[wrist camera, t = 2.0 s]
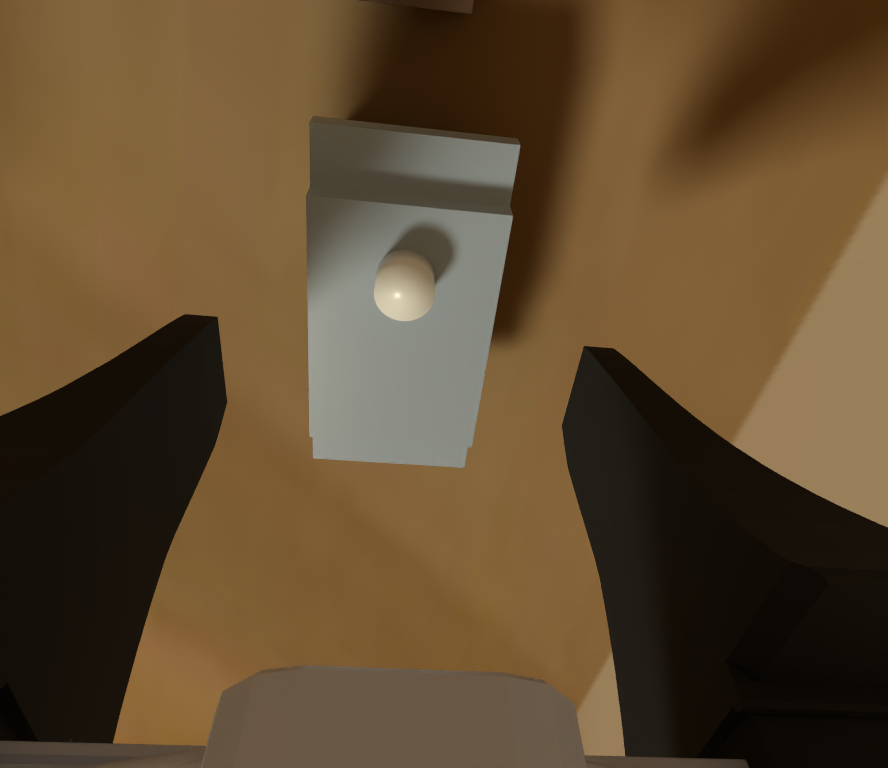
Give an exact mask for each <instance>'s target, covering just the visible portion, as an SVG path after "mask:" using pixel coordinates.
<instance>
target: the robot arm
mask: <svg viewBox="0 0 888 768" xmlns="http://www.w3.org/2000/svg"><path fill="white" fill-rule="evenodd" d="M226 404H227V397H226V388H225V379H224V371H223V362H222V353H221V344H220V335H219V326H218V317H213V316H200V315H188V314H185V315H183V316H181V317H179V318H177V319H175V320H174V321H172V322H170V323H169V324H167V325H166V326H164V327H162V328H161V329H159V330H158V331H156V332H155V333H153V334H151V335H150V336H148V337H147V338H145V339H144V340H142V341H141V342H139V343H137V344H136V345H134V346H133V347H131V348H129V349H128V350H126V351H125V352H123V353H121V354H120V355H118V356H117V357H115V358H113V359H112V360H110V361H108V362H107V363H105V364H103V365H101V366H100V367H98V368H96V369H94V370H93V371H91V372H89V373H87V374H85V375H84V376H82V377H80V378H78V379H77V380H75V381H73V382H71V383H69V384H68V385H66V386H64V387H62V388H60V389H58V390H56V391H54V392H52V393H50V394H48V395H46V396H44V397H42V398H40V399H38V400H36V401H33V402H31V403H29V404H27V405H25V406H22V407H20V408H18V409H16V410H13V411H11V412H9V413H6V414H4V415H2V416H0V768H888V528H887V527H885V526H883V525H880V524H878V523H876V522H874V521H871V520H869V519H867V518H865V517H862V516H860V515H858V514H856V513H853V512H851V511H849V510H847V509H845V508H842V507H840V506H838V505H836V504H834V503H832V502H830V501H828V500H826V499H824V498H822V497H820V496H818V495H816V494H814V493H812V492H810V491H809V490H807V489H805V488H803V487H801V486H800V485H798V484H796V483H794V482H792V481H790V480H788V479H787V478H785V477H783V476H781V475H779V474H778V473H776V472H774V471H773V470H771V469H769V468H768V467H766V466H764V465H762V464H761V463H760V462H758V461H756V460H755V459H753V458H752V457H750V456H749V455H747V454H746V453H744V452H742V451H741V450H739V449H738V448H736V447H735V446H733V445H732V444H730V443H729V442H728V441H726V440H725V439H723V438H722V437H721V436H719V435H718V434H717V433H715V432H714V431H713V430H711V429H710V428H709V427H707V426H706V425H705V424H703V423H702V422H701V421H699V420H698V419H697V418H695V417H694V416H693V415H692V414H691V413H689V412H688V411H687V410H686V409H684V408H683V407H682V406H681V405H680V404H678V403H677V402H676V401H675V400H674V399H672V398H671V397H670V396H669V395H668V394H667V393H665V392H664V391H663V390H662V389H661V388H660V387H658V386H657V385H656V384H655V383H654V382H653V381H652V380H651V379H649V378H648V377H647V376H646V375H645V374H644V373H643V372H641V371H640V370H639V369H638V368H637V367H636V366H635V365H633V364H632V363H631V362H630V361H629V360H628V359H626V358H625V357H624V356H623V355H622V354H620V353H619V352H618V351H616V350H615V349H613V348H601V347H588V346H584V348H583V351H582V355H581V359H580V362H579V366H578V369H577V373H576V377H575V380H574V384H573V388H572V391H571V395H570V398H569V402H568V406H567V409H566V413H565V416H564V420H563V424H562V429H563V437H564V445H565V452H566V458H567V464H568V469H569V473H570V476H571V480H572V483H573V487H574V490H575V494H576V497H577V500H578V504H579V507H580V510H581V514H582V517H583V520H584V524H585V527H586V530H587V534H588V537H589V540H590V544H591V547H592V550H593V554H594V557H595V561H596V565H597V569H598V573H599V577H600V582H601V588H602V593H603V599H604V604H605V610H606V615H607V621H608V627H609V634H610V640H611V647H612V653H613V660H614V666H615V672H616V680H617V688H618V696H619V704H620V712H621V719H622V727H623V737H624V747H625V756H586V755H584V750H583V745H582V740H581V736H580V730H579V725H578V719H577V714H576V709H575V704H574V702H572V701H571V700H570V699H568V698H567V697H566V696H564V695H563V694H562V693H560V692H559V691H558V690H556V689H555V688H553V687H552V686H551V685H549V684H548V683H546V682H545V681H543V680H540V679H535V678H530V677H525V676H519V675H514V674H509V673H503V672H475V671H447V670H419V669H391V668H363V667H335V666H308V665H303V666H294V667H285V668H276V669H267V670H261V671H259V672H257V673H256V674H254V675H252V676H250V677H248V678H246V679H244V680H243V681H241V682H239V683H237V684H235V685H233V686H232V687H230V688H228V689H226V690H225V691H223V692H222V695H221V698H220V701H219V704H218V707H217V710H216V712H215V715H214V719H213V723H212V727H211V730H210V734H209V738H208V742H207V745H206V746H189V745H149V744H113V740H114V736H115V732H116V727H117V723H118V719H119V715H120V711H121V707H122V704H123V700H124V696H125V693H126V689H127V685H128V682H129V678H130V674H131V671H132V667H133V663H134V659H135V656H136V652H137V649H138V645H139V642H140V639H141V635H142V632H143V628H144V625H145V622H146V618H147V615H148V612H149V608H150V605H151V602H152V598H153V595H154V592H155V589H156V586H157V583H158V580H159V577H160V573H161V570H162V567H163V564H164V561H165V558H166V555H167V553H168V550H169V548H170V545H171V543H172V540H173V538H174V535H175V533H176V531H177V529H178V526H179V524H180V522H181V520H182V518H183V515H184V513H185V511H186V509H187V507H188V504H189V502H190V500H191V498H192V496H193V493H194V491H195V489H196V487H197V485H198V482H199V480H200V478H201V476H202V473H203V471H204V469H205V467H206V464H207V462H208V460H209V458H210V455H211V453H212V451H213V448H214V446H215V443H216V440H217V437H218V433H219V430H220V427H221V423H222V419H223V416H224V412H225V408H226Z"/></svg>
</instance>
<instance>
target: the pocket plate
mask: <svg viewBox="0 0 888 768" xmlns="http://www.w3.org/2000/svg"><path fill="white" fill-rule="evenodd" d="M361 1H369V2H377V3H385V4H394V5H402V6H410V7H418V8H426V9H435V10H443V11H451V12H459V13H467V14H472V10H473V2H474V0H361Z"/></svg>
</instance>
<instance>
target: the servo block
mask: <svg viewBox="0 0 888 768" xmlns="http://www.w3.org/2000/svg"><path fill="white" fill-rule="evenodd" d="M520 146H521V145H520V143H519V141H518V139H517V138H510V137H501V136H492V135H482V134H473V133H464V132H455V131H446V130H437V129H427V128H418V127H409V126H400V125H391V124H382V123H372V122H363V121H354V120H345V119H336V118H327V117H317V116H313V117H312V119H311V121H310V188H309V190H308V192H307V195H306V221H307V291H308V362H309V432H310V437H313V458H317V459H333V460H349V461H365V462H381V463H397V464H413V465H429V466H446V467H462V468H464V466H465V460H466V454H467V449H468V447H472V442H473V437H474V431H475V426H476V420H477V414H478V409H479V403H480V398H481V392H482V387H483V381H484V375H485V370H486V364H487V359H488V353H489V348H490V342H491V336H492V331H493V325H494V320H495V314H496V309H497V303H498V297H499V292H500V286H501V281H502V275H503V270H504V264H505V258H506V253H507V247H508V242H509V236H510V231H511V225H512V219H513V214H512V211H511V208H510V203H511V197H512V191H513V186H514V180H515V174H516V168H517V163H518V157H519V151H520Z"/></svg>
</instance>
